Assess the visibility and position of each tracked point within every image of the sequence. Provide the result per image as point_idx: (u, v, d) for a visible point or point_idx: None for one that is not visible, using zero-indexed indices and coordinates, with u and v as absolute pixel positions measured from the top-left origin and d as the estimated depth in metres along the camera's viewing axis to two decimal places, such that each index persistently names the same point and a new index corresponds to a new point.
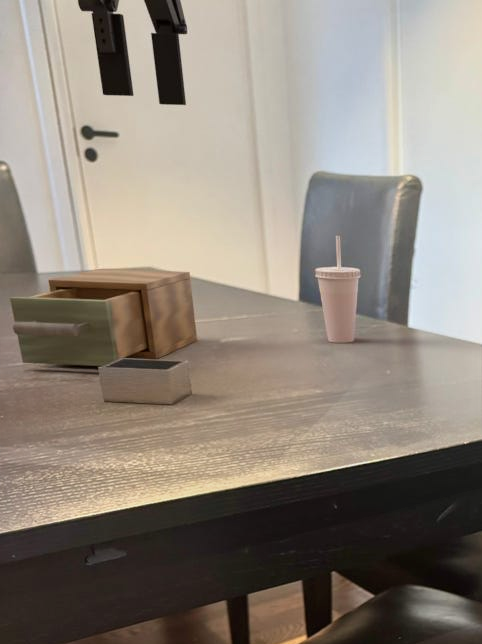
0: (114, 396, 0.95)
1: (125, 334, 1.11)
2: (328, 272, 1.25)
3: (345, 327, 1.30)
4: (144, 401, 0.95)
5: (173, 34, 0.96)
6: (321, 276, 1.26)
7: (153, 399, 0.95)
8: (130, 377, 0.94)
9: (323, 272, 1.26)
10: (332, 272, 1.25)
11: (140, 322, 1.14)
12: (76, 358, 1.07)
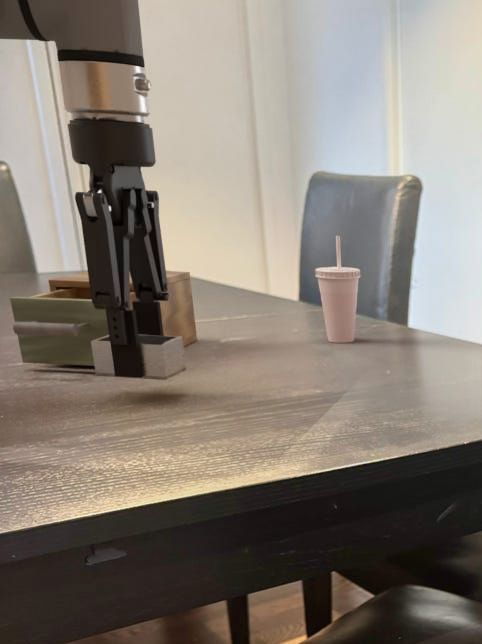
0: (107, 370, 0.94)
1: None
2: (328, 272, 1.25)
3: (345, 327, 1.30)
4: None
5: (154, 303, 0.96)
6: (321, 276, 1.26)
7: (146, 374, 0.94)
8: None
9: (323, 272, 1.26)
10: (332, 272, 1.25)
11: None
12: (76, 358, 1.07)
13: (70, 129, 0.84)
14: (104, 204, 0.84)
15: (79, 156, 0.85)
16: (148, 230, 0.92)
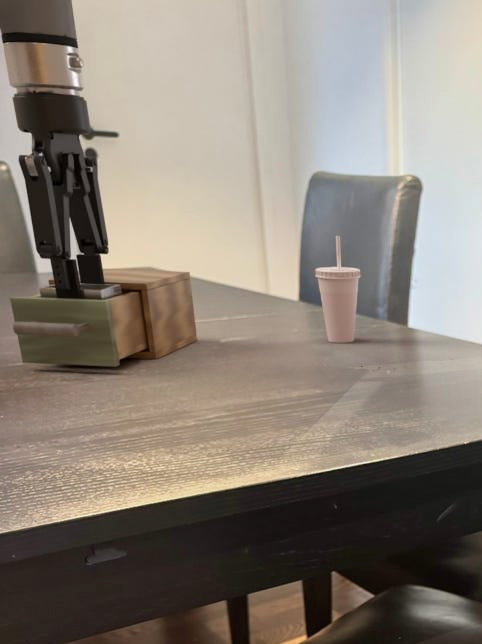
0: None
1: (125, 334, 1.11)
2: (328, 272, 1.25)
3: (345, 327, 1.30)
4: None
5: (95, 256, 1.10)
6: (321, 276, 1.26)
7: None
8: None
9: (323, 272, 1.26)
10: (332, 272, 1.25)
11: (140, 322, 1.14)
12: (76, 358, 1.07)
13: (14, 101, 0.98)
14: (44, 165, 0.98)
15: (23, 125, 0.99)
16: (87, 190, 1.06)
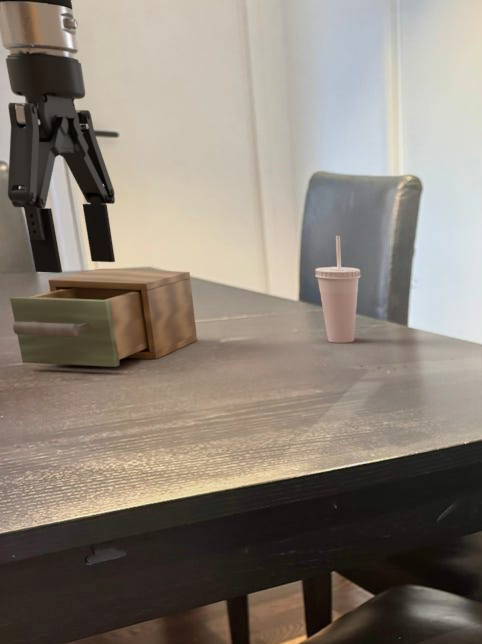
0: None
1: (125, 334, 1.11)
2: (328, 272, 1.25)
3: (345, 327, 1.30)
4: None
5: (101, 205, 1.11)
6: (321, 276, 1.26)
7: None
8: None
9: (323, 272, 1.26)
10: (332, 272, 1.25)
11: (140, 322, 1.14)
12: (76, 358, 1.07)
13: (7, 63, 0.97)
14: (33, 113, 0.95)
15: (16, 87, 0.97)
16: (86, 151, 1.05)
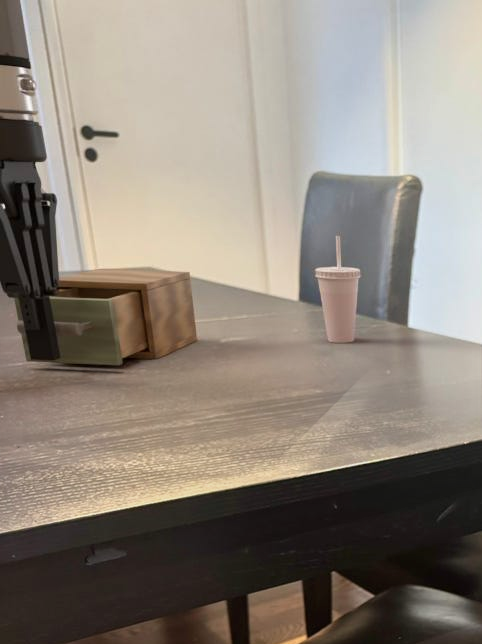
0: None
1: (128, 333, 1.11)
2: (328, 272, 1.25)
3: (345, 327, 1.30)
4: None
5: None
6: (321, 276, 1.26)
7: None
8: None
9: (323, 272, 1.26)
10: (332, 272, 1.25)
11: (143, 321, 1.15)
12: (79, 356, 1.08)
13: None
14: None
15: None
16: (40, 223, 0.97)
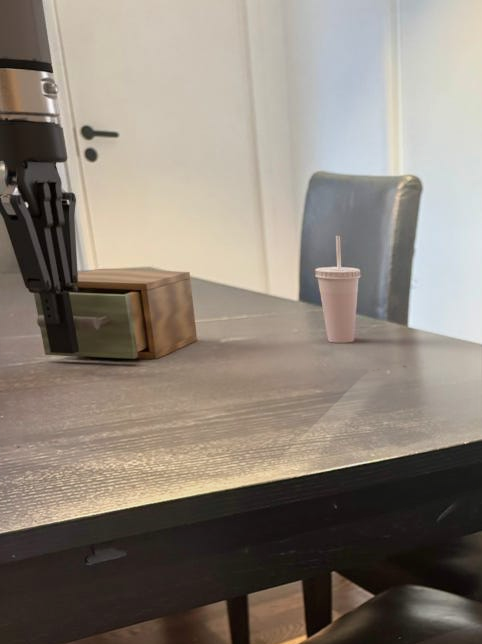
0: None
1: (143, 328, 1.15)
2: (328, 272, 1.25)
3: (345, 327, 1.30)
4: None
5: None
6: (321, 276, 1.26)
7: None
8: None
9: (323, 272, 1.26)
10: (332, 272, 1.25)
11: None
12: (97, 350, 1.12)
13: None
14: (21, 204, 0.94)
15: None
16: (60, 221, 1.01)
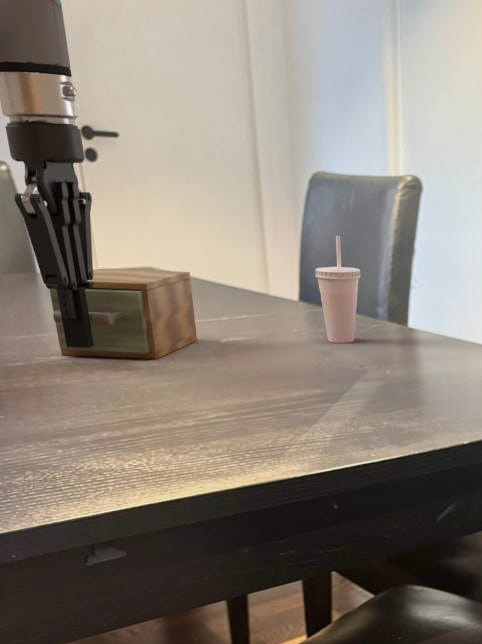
0: None
1: None
2: (328, 272, 1.25)
3: (345, 327, 1.30)
4: None
5: (79, 290, 1.07)
6: (321, 276, 1.26)
7: None
8: None
9: (323, 272, 1.26)
10: (332, 272, 1.25)
11: None
12: (110, 345, 1.15)
13: (7, 131, 0.97)
14: (40, 203, 0.97)
15: (15, 154, 0.98)
16: (77, 219, 1.04)
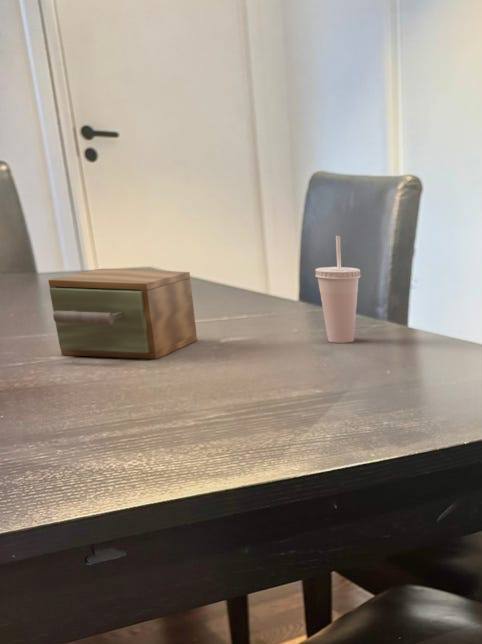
0: None
1: None
2: (328, 272, 1.25)
3: (345, 327, 1.30)
4: None
5: None
6: (321, 276, 1.26)
7: None
8: None
9: (323, 272, 1.26)
10: (332, 272, 1.25)
11: None
12: (110, 345, 1.15)
13: None
14: None
15: None
16: None
